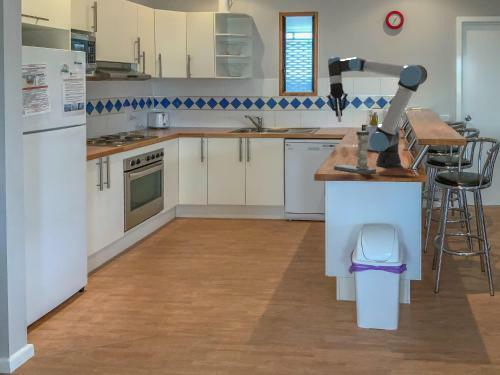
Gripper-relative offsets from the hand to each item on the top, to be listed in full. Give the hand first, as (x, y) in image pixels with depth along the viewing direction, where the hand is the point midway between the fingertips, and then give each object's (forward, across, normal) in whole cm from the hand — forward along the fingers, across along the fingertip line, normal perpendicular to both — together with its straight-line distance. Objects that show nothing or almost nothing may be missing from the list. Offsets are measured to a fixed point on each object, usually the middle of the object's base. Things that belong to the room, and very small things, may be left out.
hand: (339, 121), depth 437 cm
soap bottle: (+23, -44, -76) cm, 91 cm away
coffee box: (+21, -49, -101) cm, 114 cm away
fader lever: (+28, -3, +26) cm, 38 cm away
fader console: (+29, 0, +20) cm, 36 cm away
